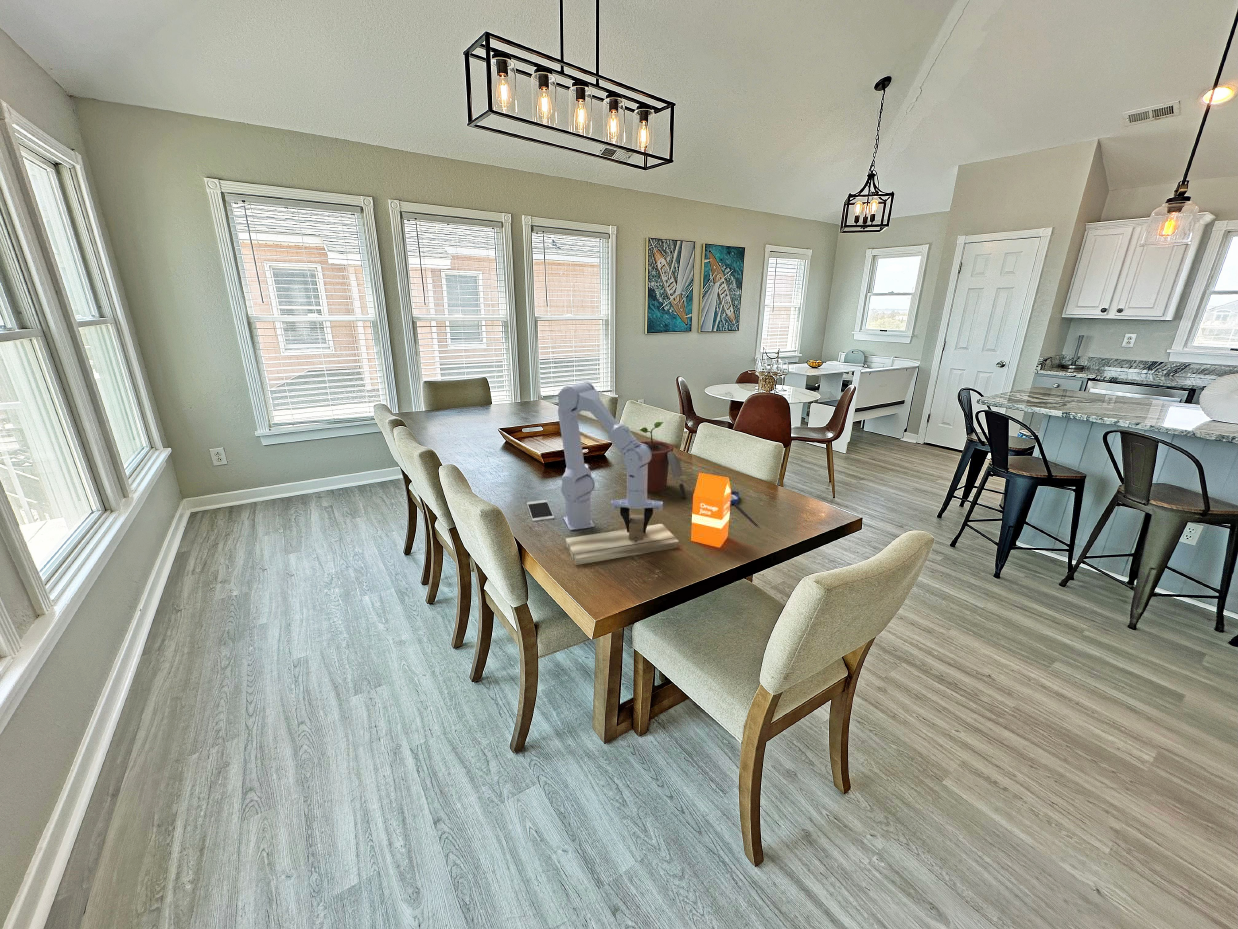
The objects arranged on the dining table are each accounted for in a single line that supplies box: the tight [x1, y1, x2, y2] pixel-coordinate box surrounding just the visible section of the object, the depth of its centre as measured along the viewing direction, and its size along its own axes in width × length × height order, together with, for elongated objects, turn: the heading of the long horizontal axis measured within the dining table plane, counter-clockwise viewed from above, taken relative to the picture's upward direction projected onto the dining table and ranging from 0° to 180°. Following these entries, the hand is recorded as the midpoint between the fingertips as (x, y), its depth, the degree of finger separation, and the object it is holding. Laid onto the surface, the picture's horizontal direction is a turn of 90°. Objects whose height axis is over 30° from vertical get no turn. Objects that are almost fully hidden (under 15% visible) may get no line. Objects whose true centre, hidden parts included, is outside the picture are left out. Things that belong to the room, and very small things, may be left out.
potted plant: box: [639, 421, 687, 499], centre depth 174 cm, size 18×22×25 cm
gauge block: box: [629, 514, 644, 542], centre depth 137 cm, size 8×4×5 cm, turn 176°
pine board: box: [565, 523, 680, 566], centre depth 137 cm, size 12×30×2 cm, turn 109°
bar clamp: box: [730, 489, 761, 530], centre depth 158 cm, size 32×2×10 cm
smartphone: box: [526, 499, 555, 523], centre depth 160 cm, size 7×16×1 cm, turn 17°
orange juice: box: [690, 472, 732, 548], centre depth 138 cm, size 8×9×20 cm
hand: (636, 531), depth 138 cm, fingers closed on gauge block, 4 cm apart
